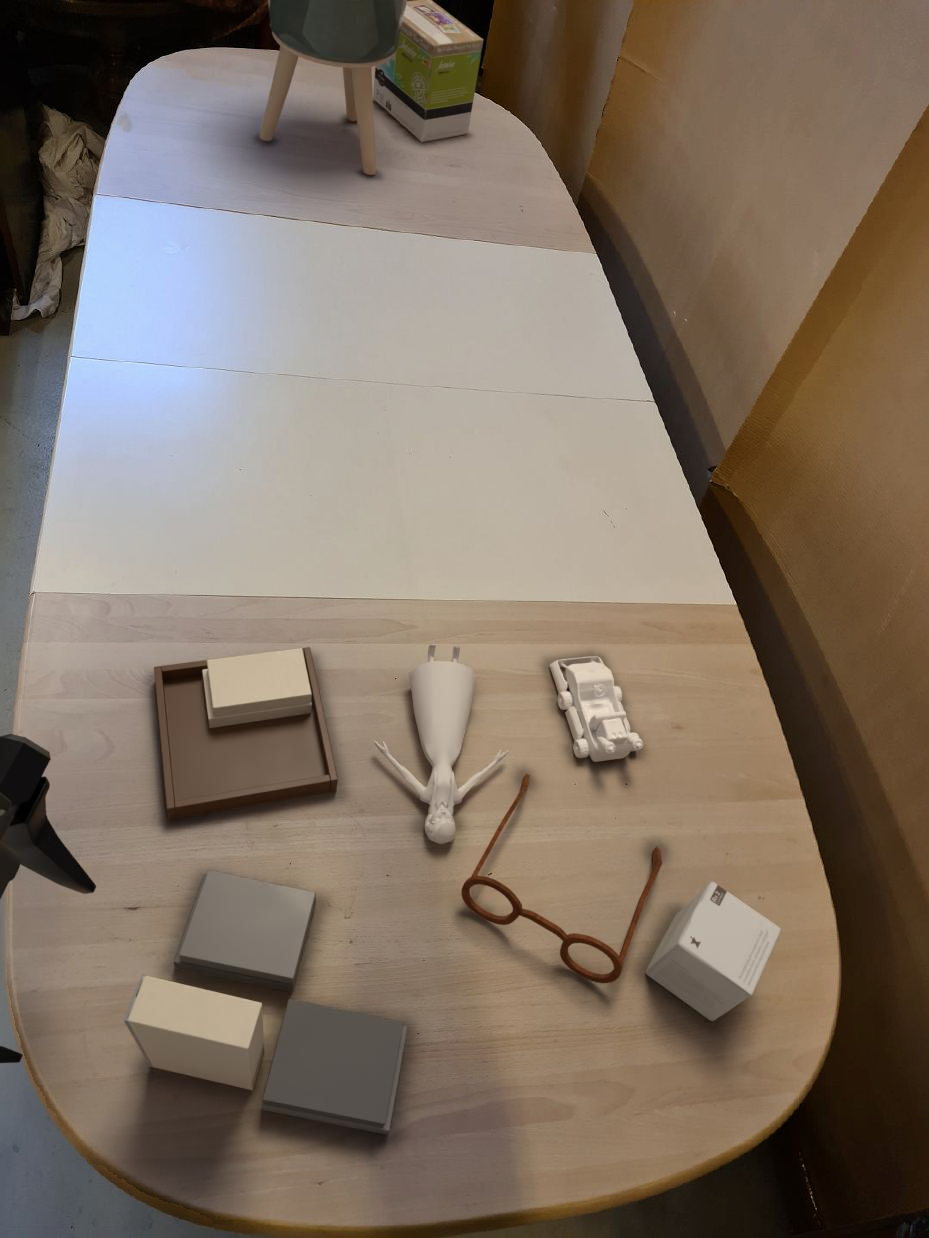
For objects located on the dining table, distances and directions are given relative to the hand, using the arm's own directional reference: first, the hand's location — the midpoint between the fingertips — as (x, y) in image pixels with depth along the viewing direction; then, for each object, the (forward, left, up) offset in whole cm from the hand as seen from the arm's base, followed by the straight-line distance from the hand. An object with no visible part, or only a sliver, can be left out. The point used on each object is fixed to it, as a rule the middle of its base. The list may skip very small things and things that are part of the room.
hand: (56, 969), depth 49 cm
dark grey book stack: (+15, -7, -13) cm, 21 cm away
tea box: (+56, +132, -13) cm, 144 cm away
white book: (+7, -4, -13) cm, 16 cm away
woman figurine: (+29, +16, -13) cm, 35 cm away
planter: (+39, +122, -13) cm, 129 cm away
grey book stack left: (+11, +4, -13) cm, 17 cm away
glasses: (+36, +3, -13) cm, 38 cm away
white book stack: (+14, +24, -13) cm, 30 cm away
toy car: (+44, +17, -13) cm, 49 cm away
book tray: (+13, +20, -13) cm, 27 cm away
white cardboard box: (+44, -6, -13) cm, 46 cm away
